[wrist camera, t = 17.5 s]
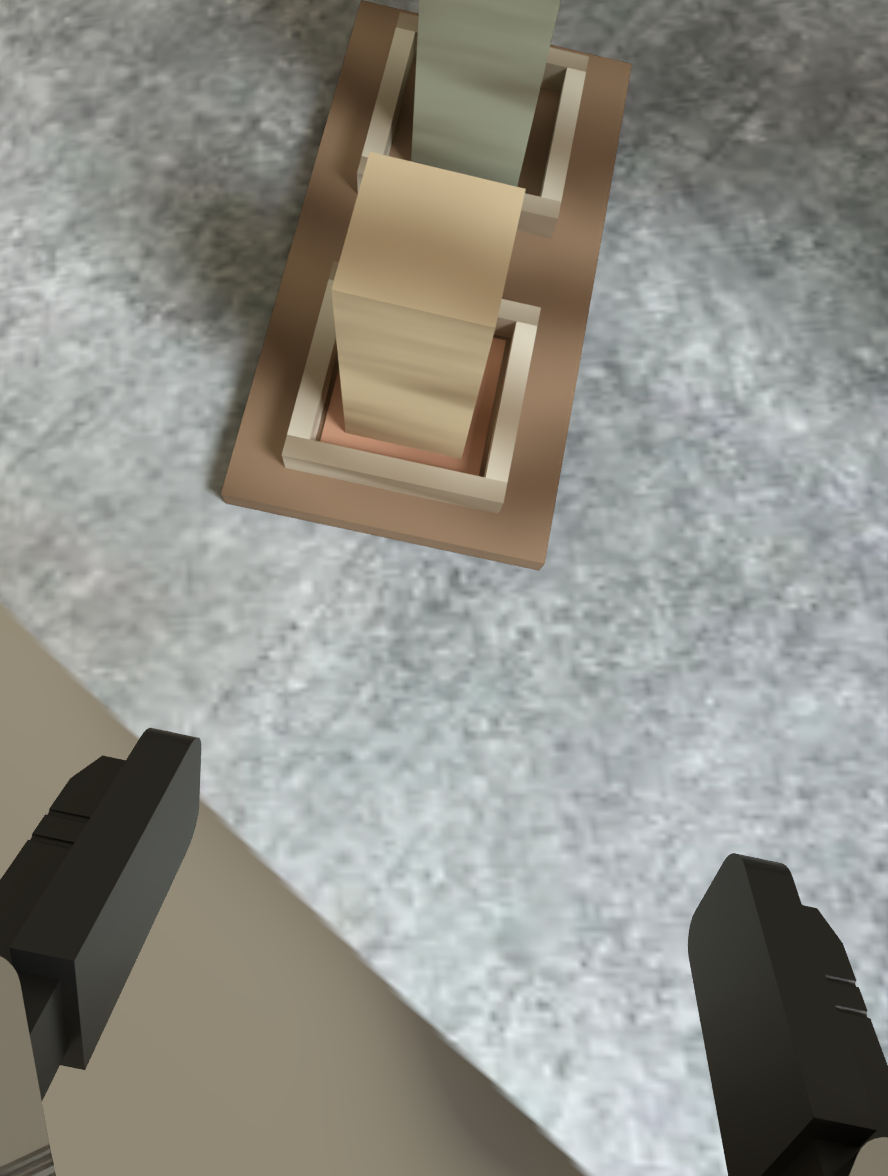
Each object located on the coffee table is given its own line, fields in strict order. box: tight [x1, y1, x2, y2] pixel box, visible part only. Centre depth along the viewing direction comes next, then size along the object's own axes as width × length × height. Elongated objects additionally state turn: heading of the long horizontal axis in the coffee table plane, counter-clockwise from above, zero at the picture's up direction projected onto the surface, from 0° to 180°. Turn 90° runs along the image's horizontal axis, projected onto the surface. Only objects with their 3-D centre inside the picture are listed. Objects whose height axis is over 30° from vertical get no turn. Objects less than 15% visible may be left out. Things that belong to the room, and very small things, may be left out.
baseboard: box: [221, 0, 632, 570], centre depth 28 cm, size 23×12×10 cm, turn 169°
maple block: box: [331, 152, 526, 459], centre depth 26 cm, size 4×4×9 cm
